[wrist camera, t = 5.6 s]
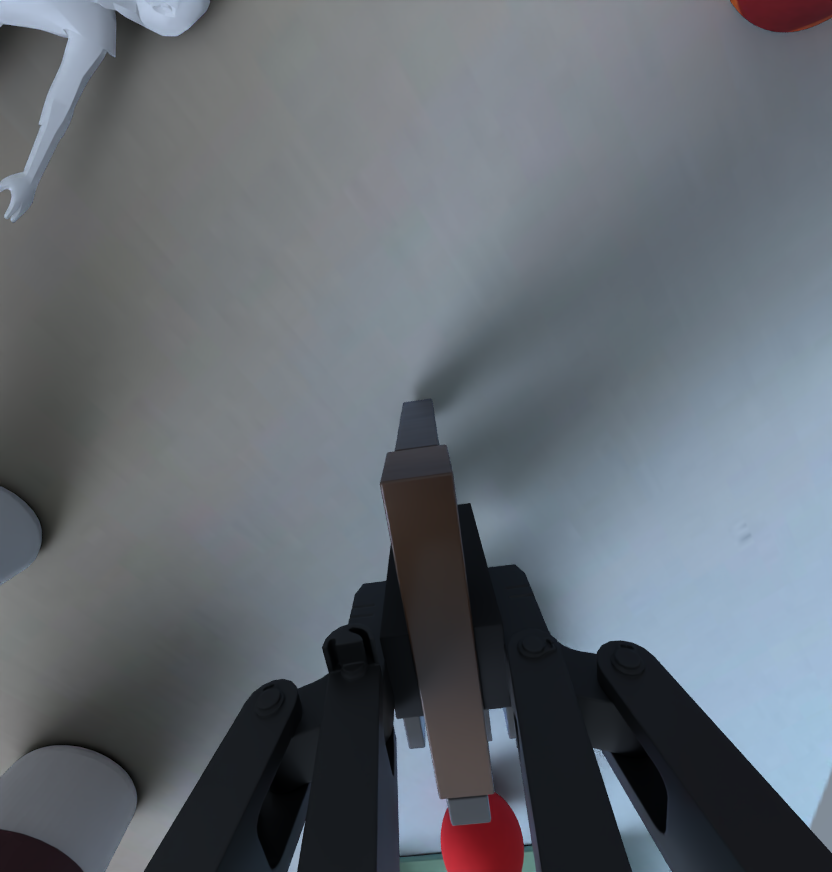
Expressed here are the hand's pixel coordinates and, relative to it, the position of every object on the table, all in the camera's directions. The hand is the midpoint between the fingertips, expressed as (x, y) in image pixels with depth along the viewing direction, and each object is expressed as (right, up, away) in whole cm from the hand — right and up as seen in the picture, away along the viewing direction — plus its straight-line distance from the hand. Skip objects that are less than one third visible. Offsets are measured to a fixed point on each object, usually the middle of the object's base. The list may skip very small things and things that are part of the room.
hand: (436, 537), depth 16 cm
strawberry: (+3, -18, +5) cm, 19 cm away
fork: (0, -2, +2) cm, 3 cm away
